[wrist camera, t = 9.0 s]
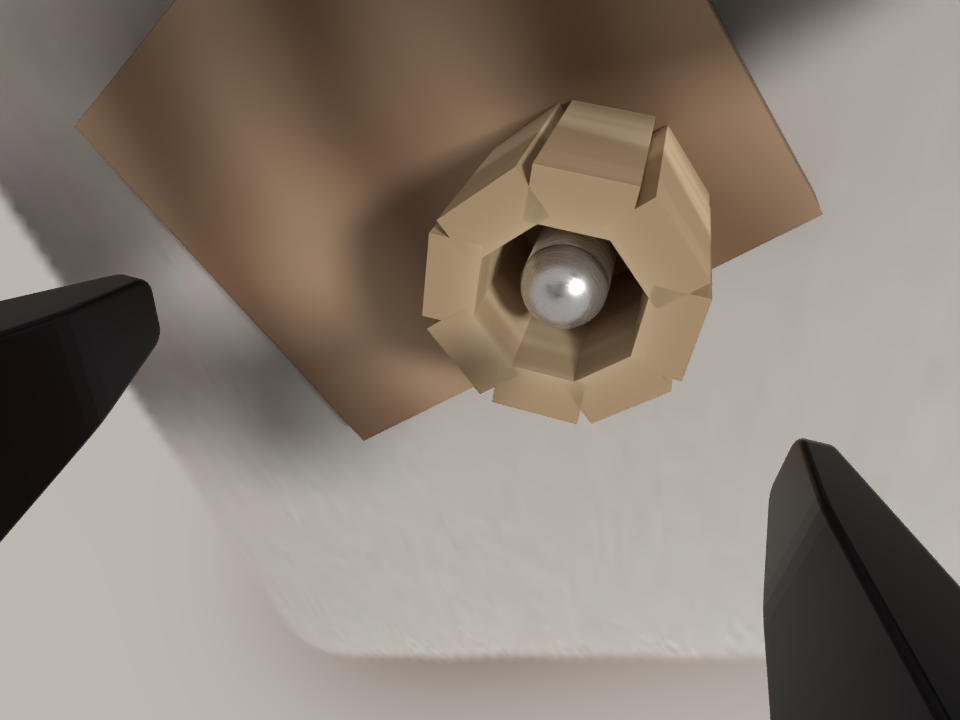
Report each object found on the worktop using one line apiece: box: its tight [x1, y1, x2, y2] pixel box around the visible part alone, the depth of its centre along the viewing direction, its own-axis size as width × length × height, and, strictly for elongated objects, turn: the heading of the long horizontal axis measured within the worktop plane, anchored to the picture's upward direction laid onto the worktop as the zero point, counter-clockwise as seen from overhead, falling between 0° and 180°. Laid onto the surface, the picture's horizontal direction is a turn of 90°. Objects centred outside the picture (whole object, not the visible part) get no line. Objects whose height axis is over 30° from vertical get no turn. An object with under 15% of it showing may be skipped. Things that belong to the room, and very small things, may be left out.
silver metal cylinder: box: [520, 226, 618, 329], centre depth 17 cm, size 2×2×5 cm
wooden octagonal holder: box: [422, 100, 712, 424], centre depth 17 cm, size 6×6×5 cm
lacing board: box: [74, 0, 822, 441], centre depth 20 cm, size 17×14×2 cm
